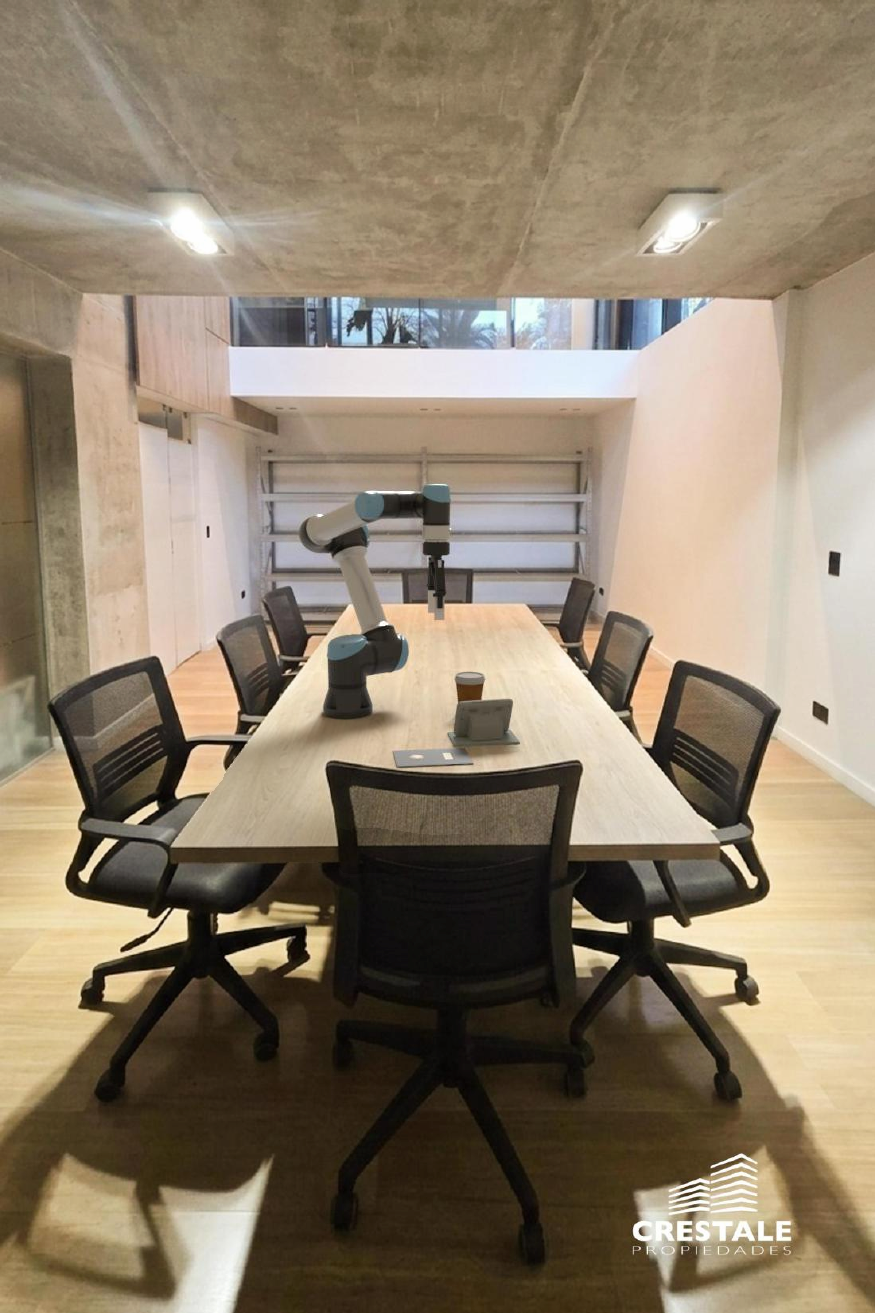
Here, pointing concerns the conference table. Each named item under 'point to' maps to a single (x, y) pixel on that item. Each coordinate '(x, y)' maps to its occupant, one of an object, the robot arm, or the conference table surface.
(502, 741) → the side mat
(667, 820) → the conference table surface
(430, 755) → the gray plate
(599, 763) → the conference table surface
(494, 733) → the digital clock
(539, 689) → the conference table surface
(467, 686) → the disposable coffee cup
